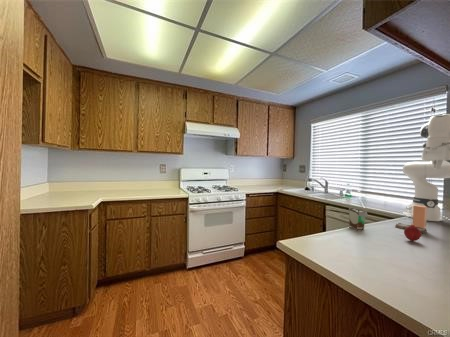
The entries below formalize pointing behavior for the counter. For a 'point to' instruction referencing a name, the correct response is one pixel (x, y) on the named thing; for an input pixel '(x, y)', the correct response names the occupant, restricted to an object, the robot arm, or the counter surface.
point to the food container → (357, 218)
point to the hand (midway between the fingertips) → (436, 168)
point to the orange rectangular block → (419, 216)
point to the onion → (412, 233)
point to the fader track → (403, 226)
